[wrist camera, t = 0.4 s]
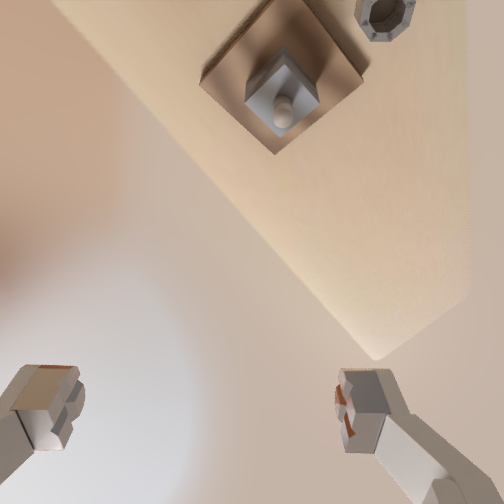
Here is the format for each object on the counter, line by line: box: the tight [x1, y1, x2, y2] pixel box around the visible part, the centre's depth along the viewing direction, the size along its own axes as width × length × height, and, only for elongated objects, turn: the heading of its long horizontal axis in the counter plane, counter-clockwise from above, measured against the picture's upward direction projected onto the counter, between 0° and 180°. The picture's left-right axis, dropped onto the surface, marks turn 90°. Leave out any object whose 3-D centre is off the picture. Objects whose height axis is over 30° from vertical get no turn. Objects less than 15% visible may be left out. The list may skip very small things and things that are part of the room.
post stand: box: [199, 0, 364, 155], centre depth 49 cm, size 17×16×12 cm
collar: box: [354, 0, 416, 42], centre depth 45 cm, size 6×6×4 cm
